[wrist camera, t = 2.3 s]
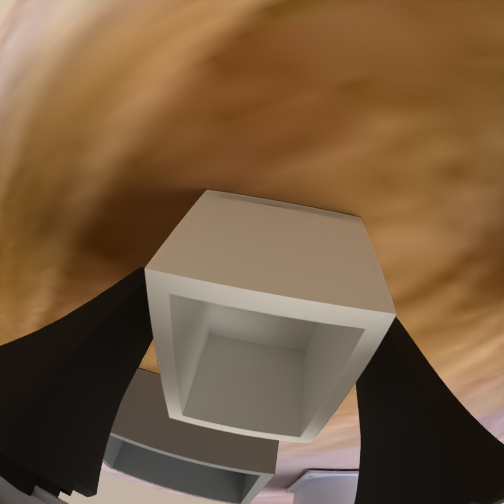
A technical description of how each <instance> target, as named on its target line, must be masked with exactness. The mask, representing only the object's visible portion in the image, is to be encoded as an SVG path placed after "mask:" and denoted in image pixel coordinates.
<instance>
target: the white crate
mask: <svg viewBox="0 0 504 504" xmlns="http://www.w3.org/2000/svg"><path fill="white" fill-rule="evenodd" d="M145 278H146V287H147V295H148V303H149V311H150V318H151V325H152V331H153V338H154V344H155V350H156V355H157V361H158V366H159V372H160V377H161V382H162V387H163V391H164V396H165V401H166V405H167V409H168V414H169V418H173V419H176V420H180V421H184V422H187V423H191V424H195V425H199V426H203V427H208V428H212V429H217V430H221V431H226V432H231V433H236V434H242V435H247V436H253V437H260V438H266V439H273V440H281V441H290V442H299V443H311V442H312V441H313V440H314V438H315V437H316V436H317V435H318V433H319V432H320V431H321V430H322V428H323V427H324V426H325V424H326V423H327V422H328V420H329V419H330V418H331V416H332V415H333V414H334V412H335V411H336V410H337V408H338V407H339V406H340V404H341V403H342V401H343V400H344V399H345V397H346V396H347V394H348V393H349V391H350V390H351V389H352V387H353V386H354V384H355V383H356V381H357V380H358V378H359V377H360V375H361V374H362V372H363V370H364V369H365V367H366V366H367V364H368V363H369V361H370V359H371V358H372V356H373V354H374V353H375V351H376V350H377V348H378V346H379V345H380V343H381V341H382V339H383V338H384V336H385V334H386V332H387V331H388V329H389V327H390V325H391V324H392V322H393V320H394V318H395V316H396V310H395V307H394V304H393V301H392V298H391V295H390V292H389V289H388V286H387V283H386V281H385V278H384V275H383V272H382V269H381V267H380V264H379V261H378V259H377V256H376V253H375V251H374V248H373V246H372V243H371V240H370V238H369V235H368V233H367V230H366V228H365V226H364V223H363V221H362V218H361V217H356V216H352V215H347V214H342V213H338V212H333V211H328V210H323V209H318V208H313V207H308V206H302V205H297V204H292V203H286V202H281V201H275V200H270V199H264V198H258V197H252V196H246V195H240V194H234V193H227V192H221V191H214V190H208V189H207V190H206V191H205V192H204V193H203V194H202V196H201V197H200V198H199V199H198V200H197V202H196V203H195V204H194V205H193V207H192V208H191V209H190V210H189V211H188V213H187V214H186V215H185V216H184V218H183V219H182V220H181V221H180V223H179V224H178V225H177V226H176V228H175V229H174V230H173V232H172V233H171V234H170V235H169V237H168V238H167V239H166V241H165V242H164V243H163V244H162V246H161V247H160V248H159V250H158V251H157V252H156V254H155V255H154V256H153V258H152V259H151V260H150V262H149V263H148V264H147V266H146V267H145Z"/></svg>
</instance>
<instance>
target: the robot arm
mask: <svg viewBox="0 0 504 504" xmlns="http://www.w3.org/2000/svg"><path fill="white" fill-rule="evenodd" d="M152 340H153V331H152V325H151V318H150V311H149V303H148V295H147V287H146V278H145V268H139V269H137V270H136V271H134V272H133V273H131V274H129V275H128V276H126V277H125V278H123V279H122V280H120V281H119V282H118V283H116V284H115V285H113V286H112V287H110V288H109V289H107V290H106V291H104V292H103V293H101V294H100V295H98V296H97V297H95V298H94V299H92V300H90V301H89V302H87V303H86V304H84V305H82V306H81V307H79V308H77V309H76V310H74V311H73V312H71V313H69V314H68V315H66V316H64V317H63V318H61V319H59V320H57V321H55V322H53V323H51V324H49V325H47V326H46V327H44V328H42V329H40V330H37V331H35V332H33V333H31V334H28V335H26V336H24V337H21V338H19V339H17V340H14V341H12V342H9V343H6V344H4V345H1V346H0V504H68V503H67V502H65V501H63V500H61V499H59V498H58V496H59V494H60V491H62V492H63V493H65V494H67V495H69V496H70V495H71V493H72V491H73V490H74V491H76V492H78V493H80V494H82V495H84V496H86V497H91V496H94V495H96V494H97V487H98V482H99V476H100V471H101V466H102V462H103V458H104V454H105V450H106V446H107V443H108V439H109V436H110V433H111V430H112V426H113V423H114V420H115V418H116V415H117V412H118V409H119V406H120V403H121V401H122V399H123V396H124V394H125V392H126V390H127V388H128V386H129V384H130V382H131V380H132V378H133V376H134V374H135V373H136V371H137V369H138V367H139V365H140V363H141V361H142V359H143V357H144V355H145V353H146V352H147V350H148V348H149V346H150V344H151V342H152ZM356 390H357V400H358V410H359V421H360V434H361V450H360V465H359V471H318V470H310V471H307V472H306V473H305V474H304V475H303V476H302V477H300V478H299V479H298V480H297V481H296V482H295V483H293V484H292V485H291V486H290V487H289V488H287V489H286V492H287V493H294V501H293V504H502V503H504V444H503V443H501V442H500V441H499V440H498V439H497V438H495V437H494V436H493V435H492V434H491V433H490V432H489V431H487V430H486V429H485V428H484V427H483V426H482V425H481V424H480V423H479V422H478V421H477V420H476V419H475V418H474V417H473V416H472V415H471V414H470V413H469V412H468V411H467V410H466V408H465V407H464V406H463V405H462V404H461V403H460V402H459V400H458V399H457V398H456V397H455V396H454V395H453V393H452V392H451V391H450V390H449V389H448V387H447V386H446V385H445V383H444V382H443V381H442V380H441V378H440V377H439V376H438V374H437V373H436V372H435V370H434V369H433V368H432V366H431V365H430V364H429V362H428V361H427V359H426V358H425V357H424V355H423V354H422V352H421V351H420V349H419V348H418V347H417V345H416V344H415V342H414V341H413V339H412V338H411V337H410V335H409V334H408V332H407V331H406V330H405V328H404V327H403V325H402V324H401V323H400V321H399V320H398V319H397V317H396V316H395V318H394V320H393V322H392V324H391V325H390V327H389V329H388V331H387V332H386V334H385V336H384V338H383V339H382V341H381V343H380V345H379V346H378V348H377V350H376V351H375V353H374V354H373V356H372V358H371V359H370V361H369V363H368V364H367V366H366V367H365V369H364V370H363V372H362V374H361V375H360V377H359V378H358V380H357V381H356Z"/></svg>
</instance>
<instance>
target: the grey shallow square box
mask: <svg viewBox="0 0 504 504" xmlns="http://www.w3.org/2000/svg"><path fill="white" fill-rule="evenodd" d="M278 443H279V440H273V439H266V438H260V437H253V436H247V435H242V434H236V433H231V432H226V431H221V430H217V429H212V428H208V427H203V426H199V425H195V424H191V423H187V422H184V421H180V420H176V419H173V418H169V414H168V409H167V405H166V401H165V396H164V391H163V387H162V382H161V377H160V375H159V374H156V373H152V372H149V371H146V370H143V369H139V368H138V369H137V371H136V373H135V374H134V376H133V378H132V380H131V382H130V384H129V386H128V388H127V390H126V392H125V394H124V396H123V399H122V401H121V403H120V406H119V409H118V412H117V415H116V418H115V420H114V423H113V426H112V430H111V433H110V436H109V439H108V443H107V446H106V450H105V454H104V458H103V463H104V464H105V465H107V466H108V467H109V468H111V469H114V470H116V471H119V472H121V473H124V474H126V475H129V476H132V477H134V478H137V479H140V480H143V481H145V482H148V483H151V484H154V485H157V486H161V487H164V488H167V489H170V490H174V491H178V492H181V493H185V494H189V495H193V496H197V497H201V498H205V499H210V500H215V501H220V502H225V503H231V504H249V503H250V502H251V501H252V500H253V499H254V498H255V497H256V495H257V494H258V493H259V492H260V491H261V490H262V489H263V487H264V486H265V485H266V484H267V483H268V482H269V480H270V479H271V478H272V477H273V476H274V474H275V468H276V460H277V452H278Z"/></svg>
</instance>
